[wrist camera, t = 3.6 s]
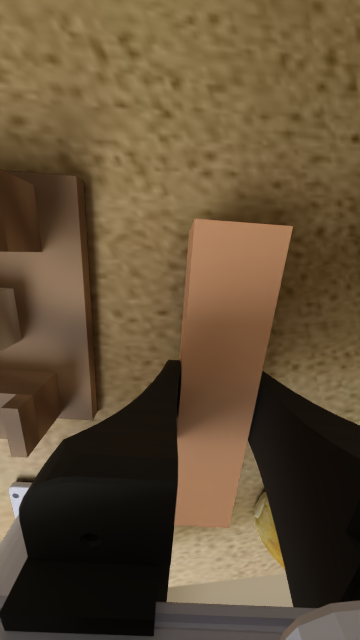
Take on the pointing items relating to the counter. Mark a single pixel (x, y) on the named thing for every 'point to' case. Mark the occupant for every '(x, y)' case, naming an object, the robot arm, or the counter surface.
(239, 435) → the bar
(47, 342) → the stand
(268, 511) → the bread roll
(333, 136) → the counter surface
